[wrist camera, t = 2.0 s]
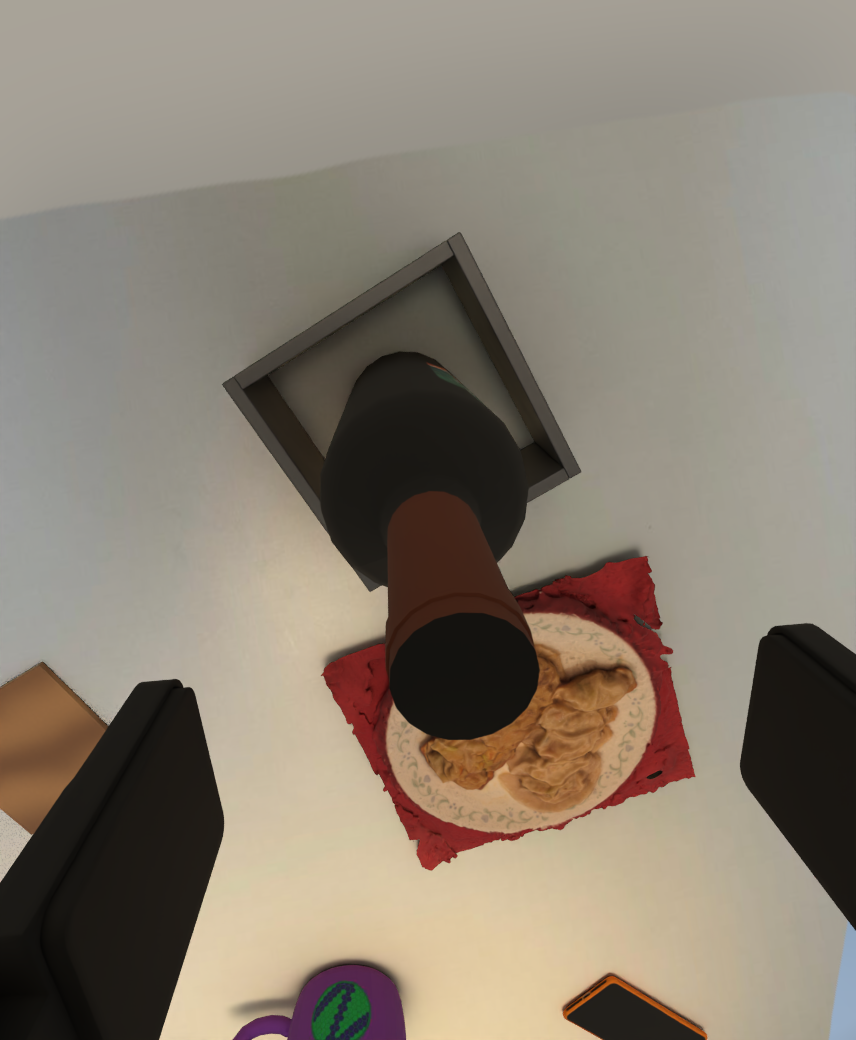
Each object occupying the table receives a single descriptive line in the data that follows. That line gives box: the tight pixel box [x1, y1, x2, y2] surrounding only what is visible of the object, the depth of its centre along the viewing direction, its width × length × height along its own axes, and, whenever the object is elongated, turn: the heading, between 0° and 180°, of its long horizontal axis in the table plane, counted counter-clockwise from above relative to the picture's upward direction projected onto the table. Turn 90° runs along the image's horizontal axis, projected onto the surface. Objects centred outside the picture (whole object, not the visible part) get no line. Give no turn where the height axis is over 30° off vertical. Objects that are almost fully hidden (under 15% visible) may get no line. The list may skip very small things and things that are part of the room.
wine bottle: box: [320, 352, 540, 740], centre depth 24 cm, size 8×8×30 cm
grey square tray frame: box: [222, 232, 581, 592], centre depth 35 cm, size 15×15×7 cm
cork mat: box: [0, 662, 108, 835], centre depth 45 cm, size 12×12×1 cm
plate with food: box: [321, 556, 695, 871], centre depth 46 cm, size 24×26×4 cm
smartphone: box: [563, 976, 707, 1040], centre depth 63 cm, size 8×17×1 cm, turn 48°
